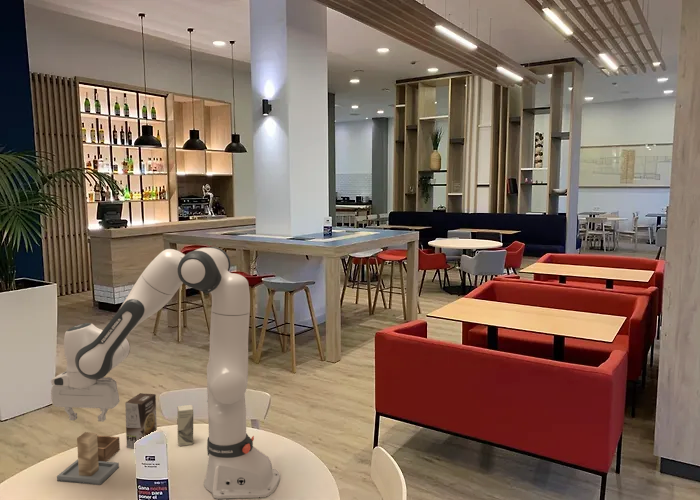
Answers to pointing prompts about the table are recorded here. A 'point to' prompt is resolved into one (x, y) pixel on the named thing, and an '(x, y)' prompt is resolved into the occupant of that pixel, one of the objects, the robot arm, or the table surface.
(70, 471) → the tray
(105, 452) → the holder
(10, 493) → the table surface
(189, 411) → the box
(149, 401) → the coffee box
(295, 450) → the table surface
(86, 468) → the pin
